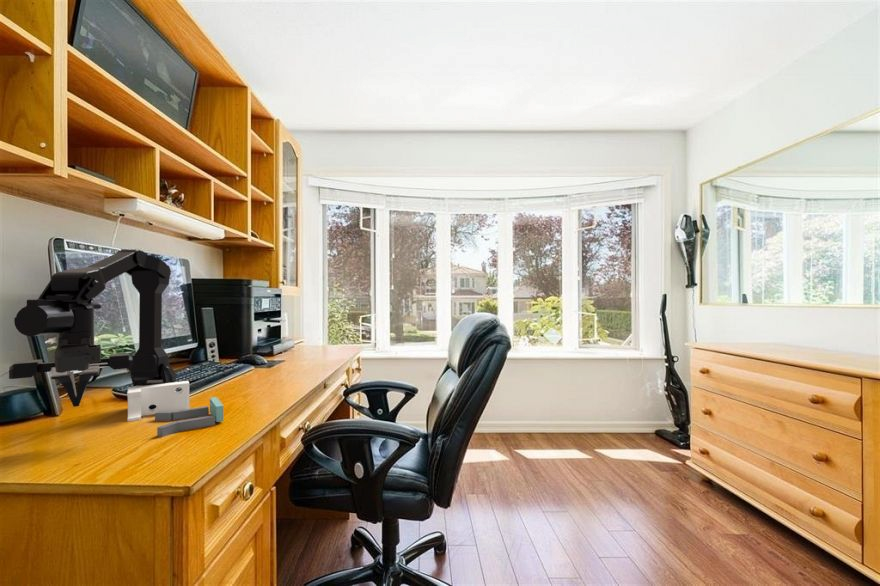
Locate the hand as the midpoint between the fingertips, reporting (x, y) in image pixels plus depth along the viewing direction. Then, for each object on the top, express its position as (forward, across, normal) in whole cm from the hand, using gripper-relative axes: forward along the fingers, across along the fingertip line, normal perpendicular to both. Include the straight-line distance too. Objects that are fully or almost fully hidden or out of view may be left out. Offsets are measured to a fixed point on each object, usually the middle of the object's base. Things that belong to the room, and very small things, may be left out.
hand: (76, 406), depth 85 cm
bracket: (+4, +15, +17) cm, 23 cm away
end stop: (+8, +26, 0) cm, 27 cm away
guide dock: (+8, +14, 0) cm, 16 cm away
